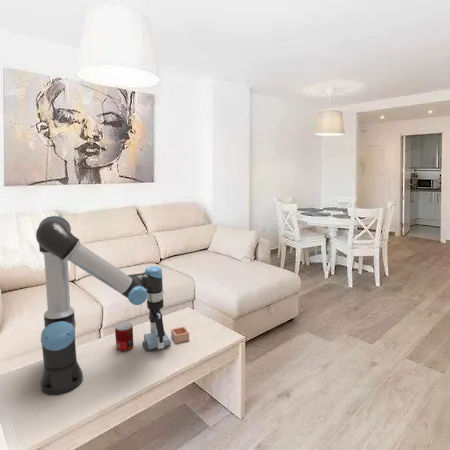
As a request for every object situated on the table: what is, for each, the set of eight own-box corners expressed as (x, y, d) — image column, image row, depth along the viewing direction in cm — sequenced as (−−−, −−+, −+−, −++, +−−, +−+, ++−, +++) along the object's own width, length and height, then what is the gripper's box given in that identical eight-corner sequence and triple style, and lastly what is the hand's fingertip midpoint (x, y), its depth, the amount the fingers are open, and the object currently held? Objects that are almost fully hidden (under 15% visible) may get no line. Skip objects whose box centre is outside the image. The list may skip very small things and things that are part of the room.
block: (145, 351, 161) (145, 347, 160) (142, 345, 166) (142, 341, 166) (170, 345, 166) (170, 342, 165) (167, 340, 171) (167, 336, 171)
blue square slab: (148, 349, 159) (148, 344, 159) (143, 339, 168) (143, 334, 167) (169, 344, 163) (169, 339, 163) (164, 334, 172) (163, 330, 172)
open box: (175, 344, 167) (175, 335, 166) (171, 337, 173) (171, 329, 173) (189, 341, 170) (189, 332, 169) (184, 334, 176) (184, 326, 176)
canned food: (131, 351, 161) (129, 329, 159) (113, 351, 161) (112, 329, 159) (135, 343, 168) (134, 322, 166) (119, 342, 168) (117, 321, 166)
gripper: (170, 308, 152) (172, 352, 156) (156, 289, 174) (158, 328, 178) (153, 311, 149) (155, 356, 153) (141, 291, 171) (143, 331, 175)
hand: (157, 341), depth 166 cm, fingers open, 13 cm apart
